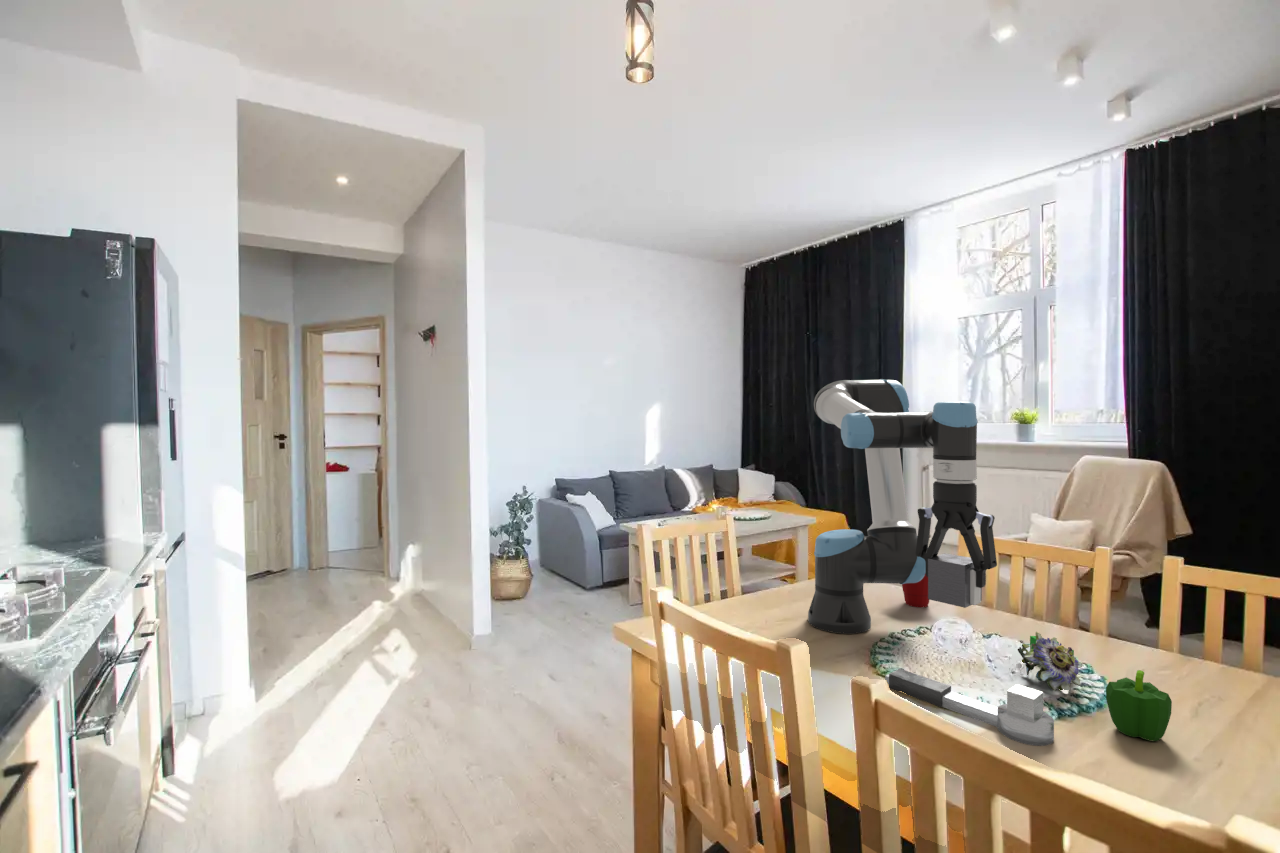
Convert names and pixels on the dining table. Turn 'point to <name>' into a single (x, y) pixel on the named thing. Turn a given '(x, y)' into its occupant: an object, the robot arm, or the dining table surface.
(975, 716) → the ratchet
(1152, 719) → the bell pepper
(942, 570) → the dark grey cube
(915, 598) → the plastic cup
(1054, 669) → the passion flower
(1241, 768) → the dining table surface
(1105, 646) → the dining table surface
